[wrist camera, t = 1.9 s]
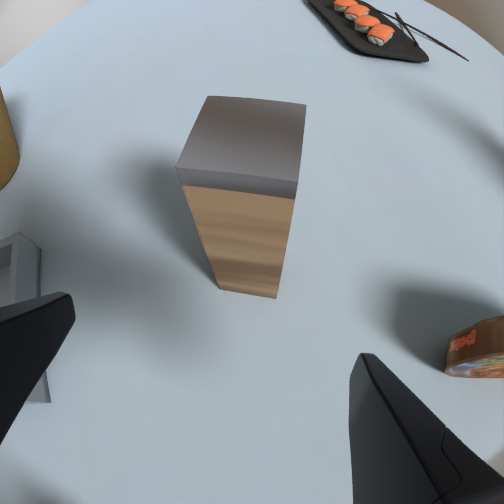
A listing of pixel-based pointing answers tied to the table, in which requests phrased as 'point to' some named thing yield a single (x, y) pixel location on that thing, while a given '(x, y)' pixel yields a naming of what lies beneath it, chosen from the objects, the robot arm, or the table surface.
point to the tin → (477, 351)
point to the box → (22, 288)
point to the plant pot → (6, 145)
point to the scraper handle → (244, 187)
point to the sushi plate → (372, 30)
